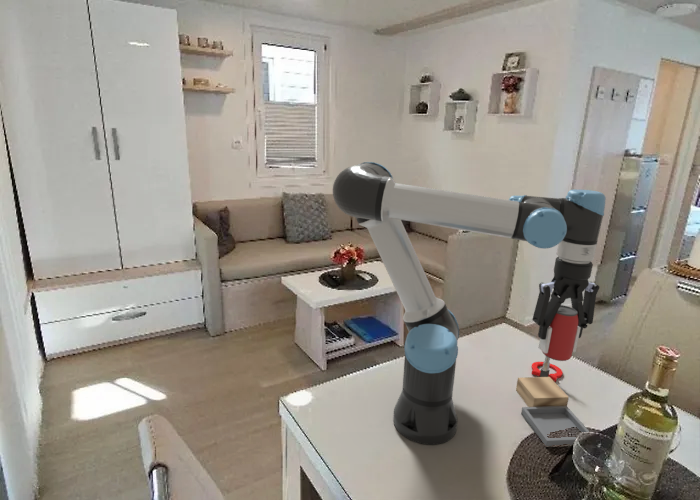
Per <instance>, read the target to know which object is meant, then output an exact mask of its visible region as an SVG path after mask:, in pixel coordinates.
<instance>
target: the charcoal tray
mask: <svg viewBox="0 0 700 500" xmlns="http://www.w3.org/2000/svg"><path fill="white" fill-rule="evenodd" d="M520 415H521V416H522V418H523V419H524V420H525V422H526V423H527V424H528V426H529V428H530V429H531V430H532V431H533V433H534V434H535V433H536V434H537V435H538V436H539V438H540V439H541V440H542V442H543V443H544V444H545V445H546V446H552V445H563V444H570V445H572V444H573V442H574V441H575V439H576V437H561V438H548V437H547V436H549V435H547V434H550V432H555V431H559V430H565V429H566V428H571V427H577V428H578V429H579V430H580V431H581V432H589V431H590V430H589V428H588V427H586V425H584V423H583V422H582V421H581V420H580V419H579V418H578V417H577V416H576V415H575V413H573V412H572V410H571V409H570V408H569V407H568V405H567V406H546V407H528V406H527V407H526V406H525V407H524V406H522V407H521V414H520ZM536 434H535V435H536ZM537 435H536V436H537ZM539 438H538V439H539ZM542 442H541V443H542Z"/></svg>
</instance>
